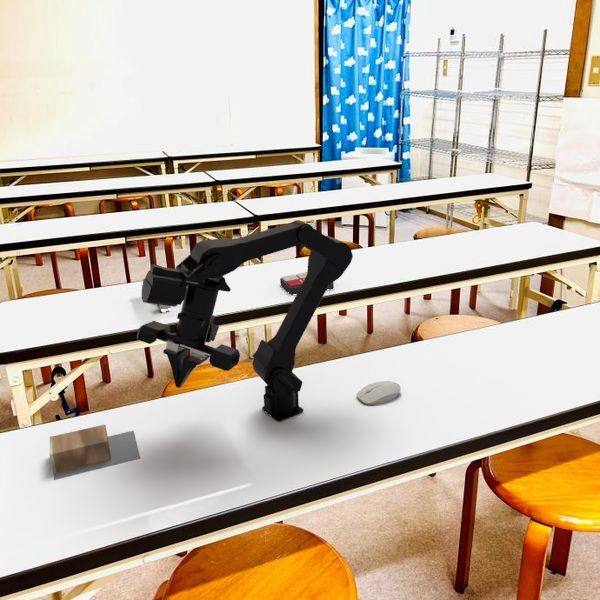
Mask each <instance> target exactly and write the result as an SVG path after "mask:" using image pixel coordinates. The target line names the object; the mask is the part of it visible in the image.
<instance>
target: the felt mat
mask: <svg viewBox="0 0 600 600" xmlns="http://www.w3.org/2000/svg"><path fill="white" fill-rule="evenodd" d="M107 436H108V441H109V448H110V454H111V459H110V460H106V461H102V462H98V463H94V464H90V465H86V466H81V467H77V468H73V469H69V470H65V471H61V472H57V473H53V481H56V480H60V479H64V478H68V477H72V476H75V475H79V474H84V473H87V472H91V471H97V470H101V469H103V468H108V467H112V466H116V465H119V464H124V463H128V462H133V461H135V460H136V461H137V460H140V459H141V456H140V452H139V448H138V447H139V446H138V443H137V440H136V435H135V430H131V431H125V432H120V433H116V434H113V435H107Z"/></svg>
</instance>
